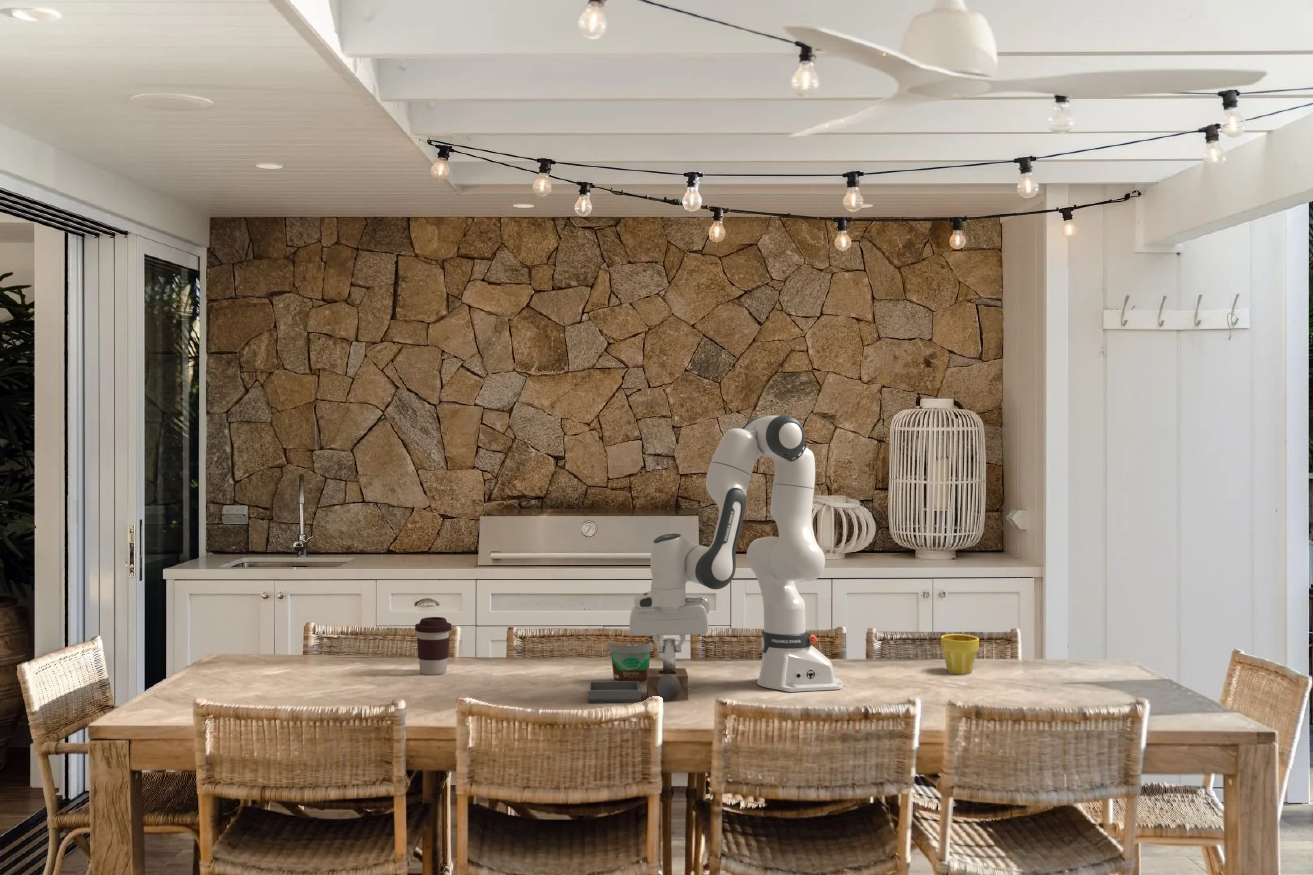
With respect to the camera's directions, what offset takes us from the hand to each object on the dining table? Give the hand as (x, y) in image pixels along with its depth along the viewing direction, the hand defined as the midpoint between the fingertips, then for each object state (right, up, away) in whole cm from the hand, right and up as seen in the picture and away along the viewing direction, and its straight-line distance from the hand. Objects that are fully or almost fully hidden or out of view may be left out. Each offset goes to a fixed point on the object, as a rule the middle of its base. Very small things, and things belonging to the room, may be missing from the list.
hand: (669, 652), depth 306 cm
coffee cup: (-65, -11, +27) cm, 71 cm away
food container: (-10, -11, +17) cm, 23 cm away
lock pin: (0, -7, 0) cm, 7 cm away
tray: (-14, -11, -3) cm, 18 cm away
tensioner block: (-1, -11, 0) cm, 11 cm away
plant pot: (+82, -11, +31) cm, 88 cm away
